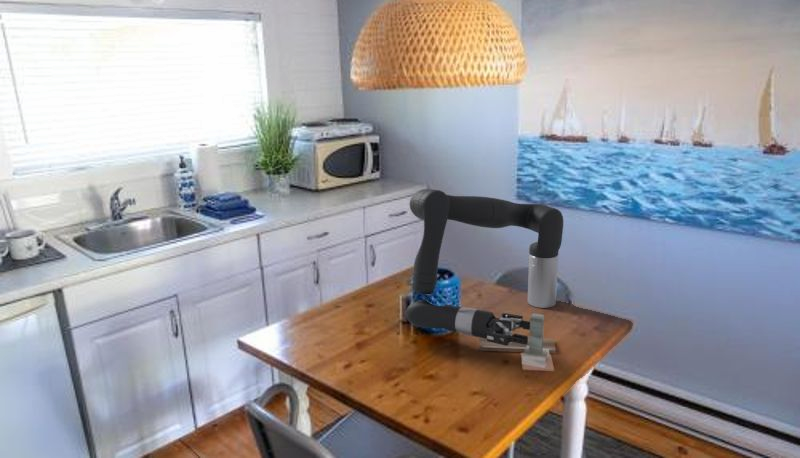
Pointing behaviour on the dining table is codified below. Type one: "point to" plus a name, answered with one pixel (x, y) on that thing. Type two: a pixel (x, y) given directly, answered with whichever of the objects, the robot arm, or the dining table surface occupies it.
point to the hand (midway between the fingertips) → (532, 333)
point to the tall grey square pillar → (536, 344)
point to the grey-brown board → (513, 346)
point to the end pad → (547, 368)
